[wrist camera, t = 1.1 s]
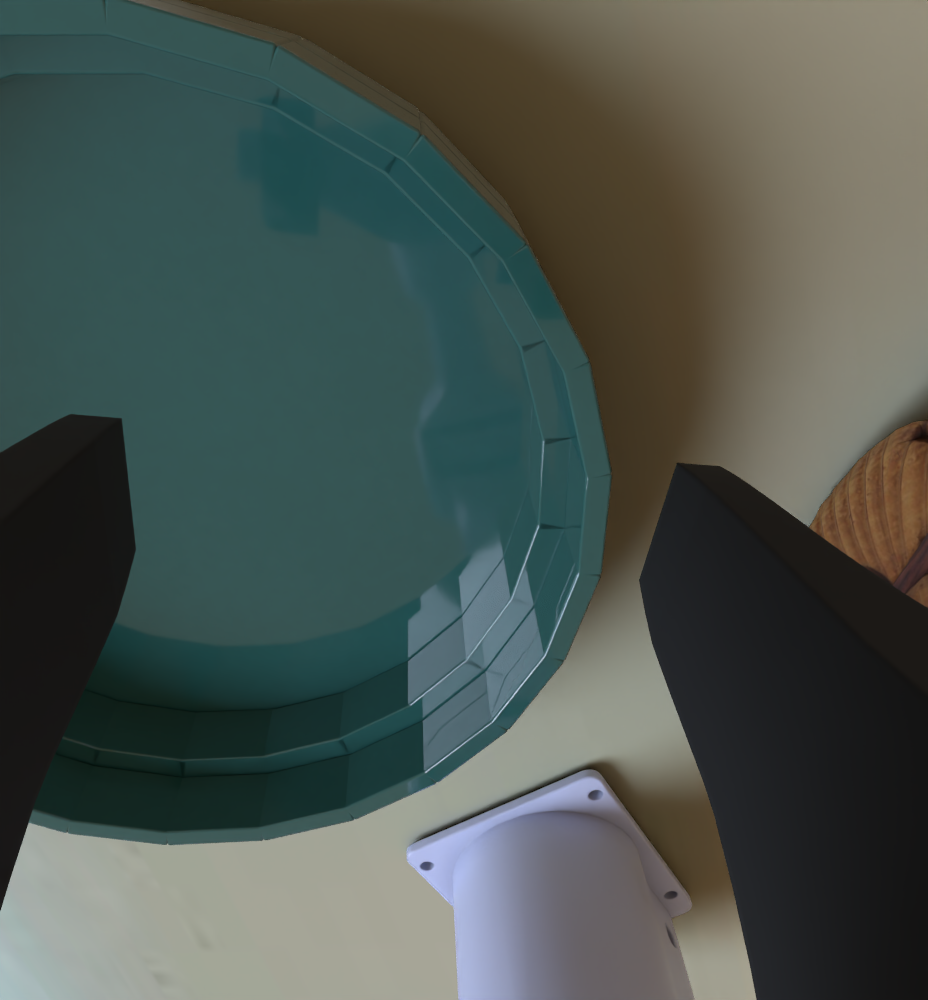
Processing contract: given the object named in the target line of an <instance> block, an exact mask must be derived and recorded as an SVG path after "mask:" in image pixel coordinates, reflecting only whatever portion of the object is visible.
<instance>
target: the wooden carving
mask: <svg viewBox="0 0 928 1000" xmlns="http://www.w3.org/2000/svg"><path fill="white" fill-rule="evenodd" d="M809 528H810V529H811V530H813V531H814V532H816V533H817V534H818V535H820V536H821V537H823V538H824V539H825V540H827V541H828V542H829V543H831V544H832V545H834V546H835V547H836V548H838V549H839V550H841V551H842V552H844V553H845V554H846V555H848V556H849V557H851V558H852V559H854V560H855V561H856V562H858V563H859V564H861V565H862V566H864V567H865V568H867V569H868V570H870V571H871V572H873V573H874V574H876V575H877V576H879V577H880V578H882V579H883V580H885V581H886V582H888V583H889V584H891V585H893V586H894V587H896V588H897V589H899V590H900V591H902V592H903V593H905V594H906V595H908V596H909V597H911V598H912V599H914V600H916V601H917V602H919V603H921V604H922V605H924V606H926V607H927V608H928V420H923V421H917V422H912V423H910V424H908V425H906V426H903V427H901V428H899V429H897V430H895V431H894V432H893V433H892V434H890V435H889V436H888V437H887V438H885V439H884V440H882V441H881V442H879V443H878V444H877V445H876V446H874V447H873V448H872V449H871V450H869V451H868V452H867V453H866V454H865V455H864V456H863V457H862V458H860V459H859V460H858V461H857V463H856V464H855V465H854V466H853V468H852V469H851V470H850V471H849V473H848V474H847V475H846V476H845V477H844V478H843V479H842V480H841V481H840V482H839V484H838V485H837V486H836V487H835V488H834V489H833V492H832V494H831V495H830V496H829V497H828V498H827V499H826V500H825V501H824V502H823V504H822V505H821V506H820V508H819V511H818V513H817V515H816V517H815V519H814V520H813V522H812V524H811V525H810V527H809Z"/></svg>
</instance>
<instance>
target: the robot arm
mask: <svg viewBox="0 0 928 1000" xmlns="http://www.w3.org/2000/svg"><path fill="white" fill-rule="evenodd" d="M135 552H136V544H135V535H134V526H133V517H132V508H131V499H130V489H129V480H128V471H127V462H126V453H125V443H124V434H123V425H122V418H114V417H101V416H89V415H76V414H69V415H67V416H65V417H63V418H61V419H59V420H57V421H55V422H53V423H51V424H49V425H47V426H45V427H44V428H42V429H40V430H38V431H37V432H35V433H33V434H31V435H30V436H28V437H26V438H24V439H23V440H21V441H19V442H18V443H16V444H14V445H12V446H11V447H9V448H7V449H6V450H4V451H2V452H1V453H0V910H1V907H2V904H3V900H4V897H5V894H6V891H7V887H8V884H9V881H10V878H11V874H12V871H13V868H14V865H15V862H16V859H17V856H18V853H19V850H20V847H21V844H22V841H23V838H24V835H25V832H26V829H27V826H28V823H29V820H30V817H31V813H32V810H33V807H34V804H35V801H36V799H37V796H38V794H39V791H40V789H41V786H42V784H43V781H44V779H45V776H46V774H47V771H48V769H49V766H50V764H51V762H52V759H53V757H54V755H55V753H56V751H57V748H58V746H59V744H60V742H61V740H62V737H63V735H64V733H65V731H66V729H67V727H68V724H69V722H70V720H71V718H72V716H73V713H74V711H75V709H76V707H77V705H78V702H79V700H80V698H81V696H82V694H83V691H84V689H85V687H86V685H87V683H88V680H89V678H90V676H91V674H92V672H93V669H94V667H95V665H96V663H97V661H98V658H99V656H100V654H101V652H102V649H103V647H104V645H105V643H106V640H107V638H108V636H109V634H110V631H111V629H112V627H113V624H114V622H115V620H116V617H117V615H118V612H119V608H120V605H121V602H122V598H123V595H124V592H125V588H126V585H127V581H128V577H129V574H130V570H131V566H132V563H133V559H134V555H135ZM639 582H640V587H641V593H642V598H643V603H644V608H645V614H646V618H647V622H648V627H649V631H650V636H651V640H652V644H653V647H654V650H655V652H656V655H657V658H658V661H659V664H660V666H661V669H662V672H663V675H664V678H665V680H666V683H667V686H668V689H669V691H670V694H671V697H672V699H673V702H674V705H675V707H676V710H677V713H678V715H679V718H680V721H681V723H682V726H683V729H684V731H685V734H686V737H687V739H688V742H689V745H690V747H691V750H692V753H693V755H694V758H695V761H696V763H697V766H698V769H699V771H700V774H701V777H702V779H703V782H704V785H705V788H706V791H707V794H708V797H709V800H710V804H711V807H712V810H713V813H714V816H715V820H716V824H717V828H718V832H719V836H720V840H721V843H722V847H723V851H724V855H725V859H726V863H727V867H728V871H729V875H730V879H731V883H732V887H733V891H734V896H735V900H736V905H737V909H738V914H739V918H740V922H741V927H742V931H743V936H744V940H745V945H746V949H747V954H748V958H749V962H750V967H751V973H752V978H753V983H754V988H755V993H756V998H757V1000H928V608H927V607H926V606H924V605H922V604H921V603H919V602H917V601H916V600H914V599H912V598H911V597H909V596H908V595H906V594H905V593H903V592H902V591H900V590H899V589H897V588H896V587H894V586H893V585H891V584H889V583H888V582H886V581H885V580H883V579H882V578H880V577H879V576H877V575H876V574H874V573H873V572H871V571H870V570H868V569H867V568H865V567H864V566H862V565H861V564H859V563H858V562H856V561H855V560H854V559H852V558H851V557H849V556H848V555H846V554H845V553H844V552H842V551H841V550H839V549H838V548H836V547H835V546H834V545H832V544H831V543H829V542H828V541H827V540H825V539H824V538H823V537H821V536H820V535H818V534H817V533H816V532H814V531H813V530H811V529H810V528H809V527H807V526H806V525H805V524H803V523H802V522H800V521H799V520H798V519H796V518H795V517H794V516H792V515H791V514H790V513H788V512H787V511H785V510H784V509H783V508H781V507H780V506H779V505H777V504H776V503H775V502H773V501H772V500H770V499H769V498H768V497H766V496H765V495H764V494H762V493H761V492H759V491H758V490H756V489H755V488H754V487H752V486H751V485H749V484H748V483H746V482H745V481H743V480H742V479H740V478H739V477H737V476H736V475H734V474H733V473H731V472H729V471H727V470H726V469H724V468H722V467H720V466H709V465H697V464H684V463H677V465H676V468H675V471H674V474H673V477H672V480H671V483H670V486H669V489H668V492H667V495H666V499H665V502H664V505H663V508H662V511H661V514H660V517H659V520H658V523H657V526H656V530H655V533H654V536H653V539H652V542H651V545H650V548H649V551H648V554H647V557H646V561H645V564H644V567H643V570H642V573H641V576H640V579H639ZM594 790H596V791H594ZM407 861H408V863H409V864H410V865H411V866H412V867H413V868H414V869H415V870H416V871H417V872H418V873H419V874H420V875H421V876H422V877H423V878H425V879H426V880H427V881H428V882H429V883H430V884H431V885H432V886H433V887H434V888H435V889H436V890H437V891H438V892H439V893H440V894H441V895H442V896H443V897H444V898H445V899H446V900H447V901H448V902H449V903H450V904H451V905H452V906H453V907H454V919H455V940H456V960H457V980H458V1000H695V998H694V995H693V991H692V988H691V985H690V981H689V978H688V974H687V971H686V967H685V964H684V960H683V957H682V953H681V950H680V946H679V943H678V939H677V936H676V933H675V929H674V926H673V922H672V919H671V918H674V917H676V916H679V915H682V914H684V913H686V912H688V911H689V910H690V909H691V908H692V902H691V899H690V896H689V894H688V893H687V892H686V890H685V889H684V887H683V886H682V885H681V883H680V882H679V881H678V879H677V878H676V877H675V875H674V874H673V872H672V871H671V870H670V868H669V867H668V866H667V864H666V863H665V862H664V860H663V859H662V857H661V856H660V855H659V853H658V852H657V851H656V849H655V848H654V846H653V845H652V844H651V842H650V841H649V840H648V838H647V837H646V836H645V834H644V833H643V831H642V830H641V829H640V827H639V826H638V825H637V823H636V822H635V820H634V819H633V818H632V816H631V815H630V814H629V812H628V811H627V810H626V808H625V807H624V805H623V804H622V803H621V801H620V800H619V799H618V797H617V796H616V795H615V793H614V792H613V790H612V789H611V788H610V786H609V785H608V784H607V782H606V781H605V779H604V778H603V777H602V775H601V774H600V773H599V772H598V771H595V770H592V769H587V770H583V771H580V772H578V773H576V774H573V775H571V776H569V777H566V778H564V779H562V780H559V781H557V782H555V783H552V784H550V785H548V786H545V787H543V788H541V789H539V790H536V791H534V792H532V793H529V794H527V795H525V796H522V797H520V798H518V799H515V800H513V801H511V802H508V803H506V804H504V805H501V806H499V807H497V808H494V809H492V810H490V811H487V812H485V813H483V814H480V815H478V816H476V817H473V818H471V819H469V820H466V821H464V822H462V823H459V824H457V825H455V826H452V827H450V828H448V829H445V830H443V831H441V832H439V833H436V834H434V835H432V836H429V837H427V838H425V839H422V840H420V841H418V842H415V843H413V844H412V845H410V846H409V847H408V848H407Z"/></svg>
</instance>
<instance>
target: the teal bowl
mask: <svg viewBox="0 0 928 1000" xmlns="http://www.w3.org/2000/svg"><path fill="white" fill-rule="evenodd" d="M69 414H76V415H89V416H101V417H114V418H122V425H123V434H124V443H125V453H126V462H127V471H128V480H129V489H130V499H131V508H132V517H133V526H134V535H135V544H136V552H135V555H134V559H133V563H132V566H131V570H130V574H129V577H128V581H127V585H126V588H125V592H124V595H123V598H122V602H121V605H120V608H119V612H118V615H117V617H116V620H115V622H114V624H113V627H112V629H111V631H110V634H109V636H108V638H107V640H106V643H105V645H104V647H103V649H102V652H101V654H100V656H99V658H98V661H97V663H96V665H95V667H94V669H93V672H92V674H91V676H90V678H89V680H88V683H87V685H86V687H85V689H84V691H83V694H82V696H81V698H80V700H79V702H78V705H77V707H76V709H75V711H74V713H73V716H72V718H71V720H70V722H69V724H68V727H67V729H66V731H65V733H64V735H63V737H62V740H61V742H60V744H59V746H58V748H57V751H56V753H55V755H54V757H53V759H52V762H51V764H50V766H49V769H48V771H47V774H46V776H45V779H44V781H43V784H42V786H41V789H40V791H39V794H38V796H37V799H36V801H35V804H34V807H33V810H32V813H31V817H30V820H29V823H32V824H35V825H39V826H42V827H46V828H49V829H53V830H56V831H60V832H64V833H67V832H68V833H69V834H75V835H84V836H93V837H101V838H110V839H118V840H127V841H135V842H144V843H152V844H161V845H167V843H168V845H183V844H204V843H225V842H246V841H262V840H263V839H264V840H270V839H274V838H278V837H283V836H287V835H292V834H296V833H300V832H305V831H309V830H313V829H318V828H322V827H327V826H331V825H335V824H340V823H344V822H349V821H353V820H354V819H358V818H360V817H362V816H365V815H367V814H369V813H371V812H374V811H376V810H378V809H380V808H383V807H385V806H387V805H389V804H392V803H394V802H396V801H398V800H401V799H403V798H405V797H407V796H410V795H412V794H414V793H416V792H419V791H421V790H423V789H425V788H428V787H430V786H432V785H434V784H436V782H440V781H441V780H442V779H444V778H445V777H446V776H448V775H449V774H450V773H452V772H453V771H454V770H456V769H457V768H458V767H460V766H461V765H462V764H464V763H465V762H466V761H468V760H469V759H471V758H472V757H473V756H475V755H476V754H477V753H479V752H480V751H481V750H483V749H484V748H485V747H487V746H488V745H489V744H491V743H492V742H493V741H495V740H496V739H497V738H499V737H500V736H502V735H503V734H504V733H506V732H507V730H508V729H510V728H511V727H512V725H513V724H514V723H515V722H516V720H517V719H518V718H519V717H520V715H521V714H522V713H523V712H524V711H525V709H526V708H527V707H528V706H529V704H530V703H531V702H532V701H533V699H534V698H535V697H536V696H537V695H538V693H539V692H540V691H541V690H542V688H543V687H544V686H545V685H546V683H547V682H548V681H549V680H550V679H551V677H552V676H553V675H554V674H555V672H556V671H557V670H558V669H559V667H560V666H561V665H562V664H563V662H564V660H565V659H566V657H567V655H568V652H569V650H570V647H571V645H572V643H573V640H574V638H575V636H576V633H577V631H578V629H579V626H580V624H581V622H582V619H583V617H584V615H585V612H586V610H587V608H588V605H589V603H590V601H591V598H592V596H593V594H594V591H595V589H596V587H597V584H598V582H599V580H600V577H601V573H602V567H603V557H604V548H605V538H606V529H607V519H608V510H609V501H610V491H611V482H612V474H611V472H612V469H611V464H610V459H609V454H608V448H607V443H606V438H605V433H604V428H603V423H602V418H601V413H600V408H599V403H598V398H597V393H596V388H595V383H594V378H593V373H592V368H591V363H590V361H589V358H588V356H587V354H586V352H585V350H584V348H583V346H582V344H581V342H580V340H579V338H578V336H577V334H576V332H575V330H574V328H573V327H572V325H571V323H570V321H569V319H568V317H567V315H566V313H565V311H564V309H563V307H562V305H561V303H560V301H559V299H558V297H557V296H556V294H555V292H554V290H553V288H552V286H551V284H550V282H549V280H548V279H547V277H546V275H545V273H544V271H543V269H542V267H541V265H540V263H539V261H538V260H537V258H536V256H535V254H534V252H533V250H532V248H531V246H530V244H529V242H528V241H527V239H526V237H525V235H524V233H523V231H522V229H521V227H520V225H519V224H518V222H517V220H516V218H515V216H514V214H513V212H512V210H511V208H510V206H509V205H507V203H506V201H505V199H504V198H503V197H502V196H501V195H500V194H499V193H498V192H497V191H496V190H495V189H494V188H493V187H492V185H491V184H490V183H489V182H488V181H487V180H486V179H485V178H484V177H483V176H482V175H481V174H480V173H479V172H478V171H477V169H476V168H475V167H474V166H473V165H472V164H471V163H470V162H469V161H468V160H467V159H466V158H465V157H464V156H463V154H462V153H461V152H460V151H459V150H458V149H457V148H456V147H455V146H454V145H453V144H452V143H451V142H450V141H449V140H448V138H447V137H446V136H445V135H444V134H443V133H442V132H441V131H440V130H439V129H438V128H437V127H436V126H435V125H434V124H433V122H432V121H431V120H430V119H429V118H428V117H427V116H426V115H425V114H424V113H423V112H419V110H418V109H417V107H416V106H414V105H412V104H411V103H409V102H407V101H406V100H404V99H403V98H401V97H399V96H398V95H396V94H395V93H393V92H391V91H390V90H388V89H387V88H385V87H383V86H382V85H380V84H378V83H377V82H375V81H374V80H372V79H370V78H369V77H367V76H366V75H364V74H362V73H361V72H359V71H358V70H356V69H354V68H353V67H351V66H349V65H348V64H346V63H345V62H343V61H341V60H340V59H338V58H337V57H335V56H333V55H332V54H330V53H329V52H327V51H325V50H324V49H322V48H320V47H319V46H317V45H316V44H314V43H312V42H311V41H309V40H308V39H302V38H301V37H300V36H299V35H296V34H292V33H289V32H286V31H282V30H279V29H275V28H272V27H269V26H265V25H262V24H259V23H255V22H252V21H248V20H245V19H242V18H238V17H235V16H232V15H228V14H225V13H221V12H218V11H215V10H211V9H208V8H205V7H201V6H198V5H194V4H191V3H188V2H184V1H181V0H0V453H1V452H2V451H4V450H6V449H7V448H9V447H11V446H12V445H14V444H16V443H18V442H19V441H21V440H23V439H24V438H26V437H28V436H30V435H31V434H33V433H35V432H37V431H38V430H40V429H42V428H44V427H45V426H47V425H49V424H51V423H53V422H55V421H57V420H59V419H61V418H63V417H65V416H67V415H69Z"/></svg>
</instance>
